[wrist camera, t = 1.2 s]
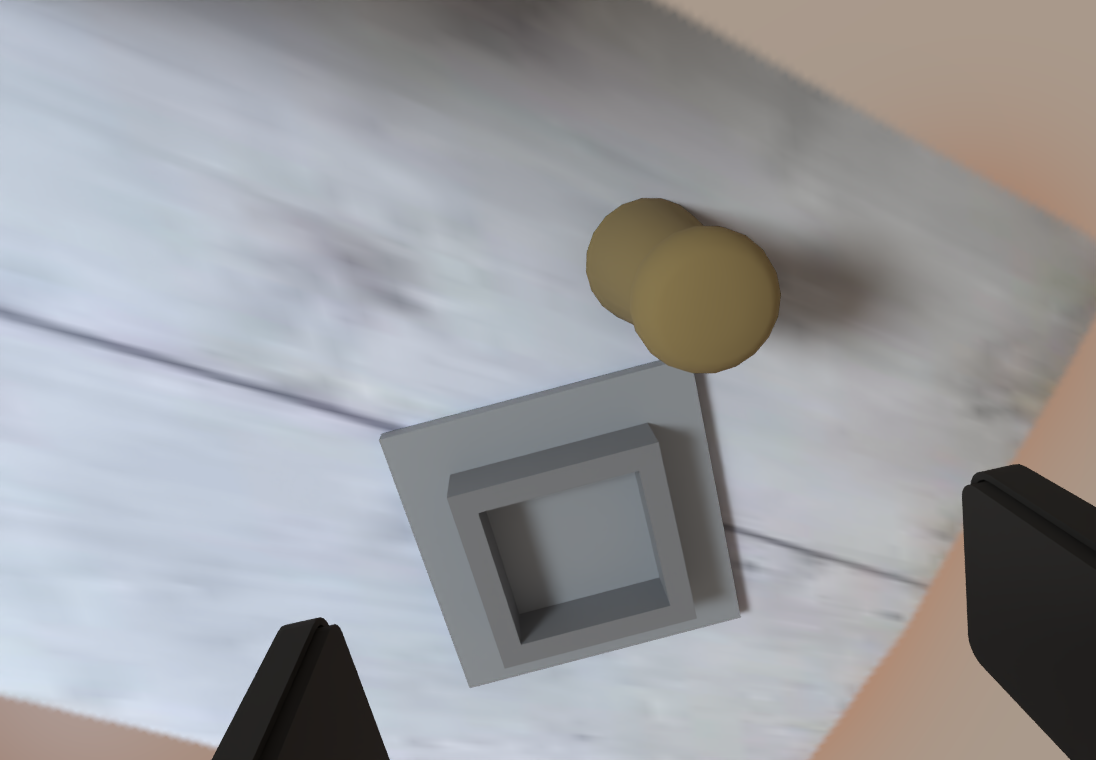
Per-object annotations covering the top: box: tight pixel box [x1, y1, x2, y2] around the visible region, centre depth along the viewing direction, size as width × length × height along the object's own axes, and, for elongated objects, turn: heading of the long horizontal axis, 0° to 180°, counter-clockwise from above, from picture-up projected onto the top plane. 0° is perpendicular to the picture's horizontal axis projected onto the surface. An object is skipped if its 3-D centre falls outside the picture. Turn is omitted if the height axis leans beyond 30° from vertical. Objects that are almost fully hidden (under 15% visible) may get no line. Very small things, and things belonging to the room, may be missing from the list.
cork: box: [586, 198, 781, 373], centre depth 28 cm, size 6×6×11 cm
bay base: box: [379, 360, 741, 688], centre depth 36 cm, size 16×16×3 cm
